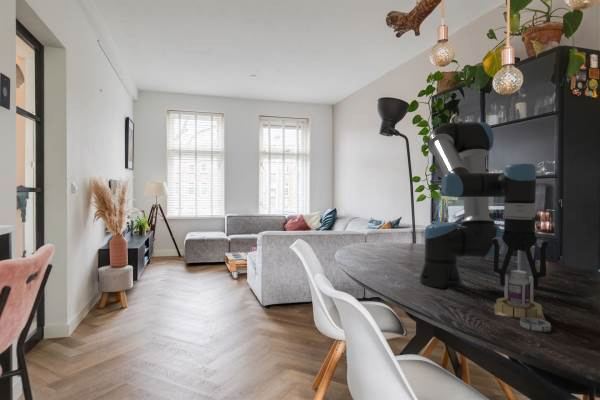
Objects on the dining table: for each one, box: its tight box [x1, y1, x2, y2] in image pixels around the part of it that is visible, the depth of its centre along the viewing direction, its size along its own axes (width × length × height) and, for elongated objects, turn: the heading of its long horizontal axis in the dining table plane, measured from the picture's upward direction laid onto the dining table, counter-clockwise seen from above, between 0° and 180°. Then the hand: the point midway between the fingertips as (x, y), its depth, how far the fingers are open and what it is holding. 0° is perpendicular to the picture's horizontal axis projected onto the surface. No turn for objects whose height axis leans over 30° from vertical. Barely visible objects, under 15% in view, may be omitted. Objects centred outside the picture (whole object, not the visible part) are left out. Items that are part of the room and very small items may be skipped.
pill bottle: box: [508, 269, 530, 308], centre depth 101 cm, size 5×5×10 cm
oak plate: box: [493, 303, 547, 321], centre depth 102 cm, size 12×11×1 cm
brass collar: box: [495, 297, 543, 319], centre depth 102 cm, size 11×11×2 cm
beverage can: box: [517, 245, 536, 281], centre depth 134 cm, size 6×6×15 cm
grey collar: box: [519, 317, 552, 333], centre depth 90 cm, size 6×6×2 cm
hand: (518, 298), depth 101 cm, fingers closed on pill bottle, 5 cm apart
